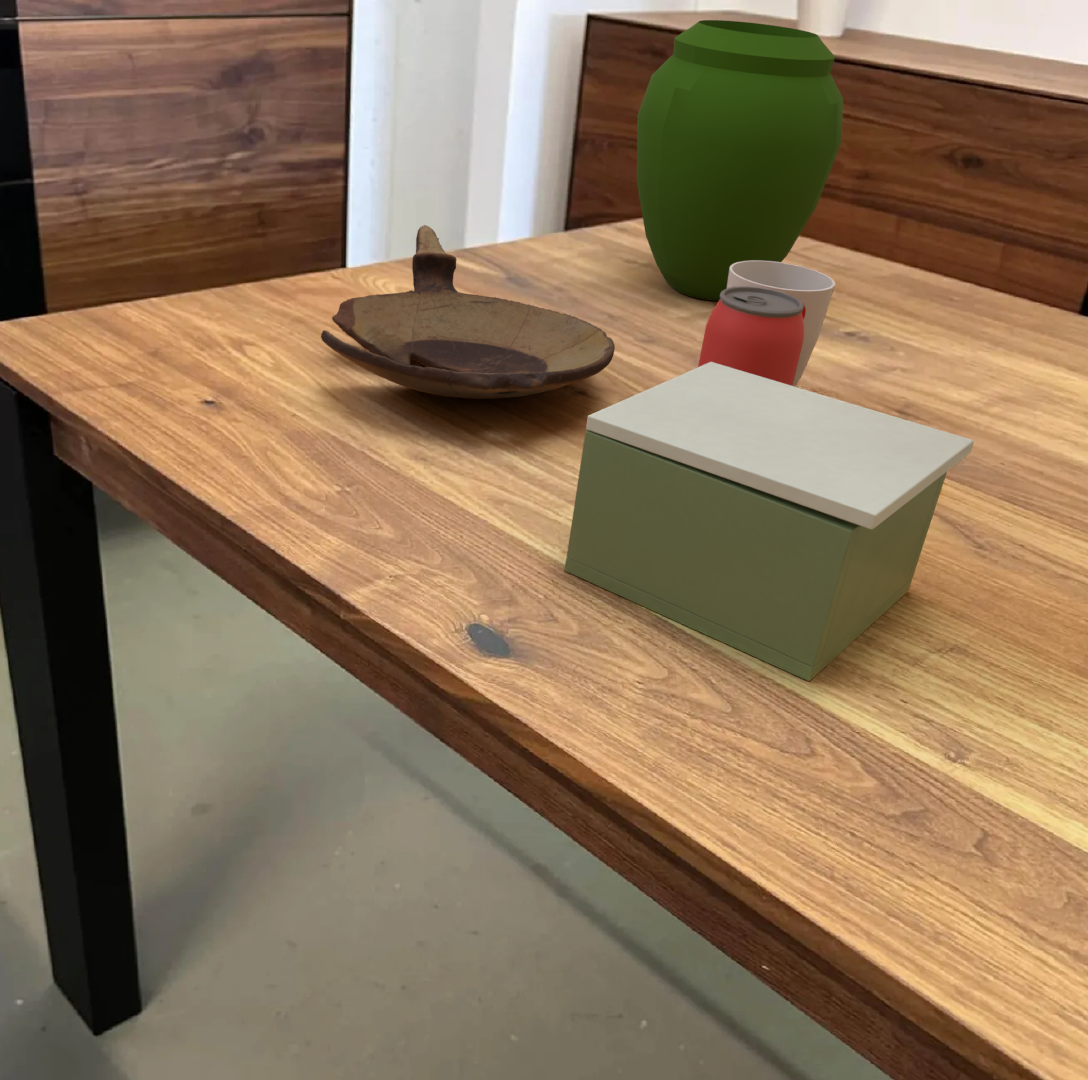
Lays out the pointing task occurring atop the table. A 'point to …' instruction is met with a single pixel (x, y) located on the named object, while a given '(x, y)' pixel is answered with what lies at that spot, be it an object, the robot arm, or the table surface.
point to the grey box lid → (785, 441)
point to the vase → (734, 148)
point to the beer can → (755, 333)
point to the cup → (793, 281)
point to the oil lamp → (465, 337)
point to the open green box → (738, 555)
